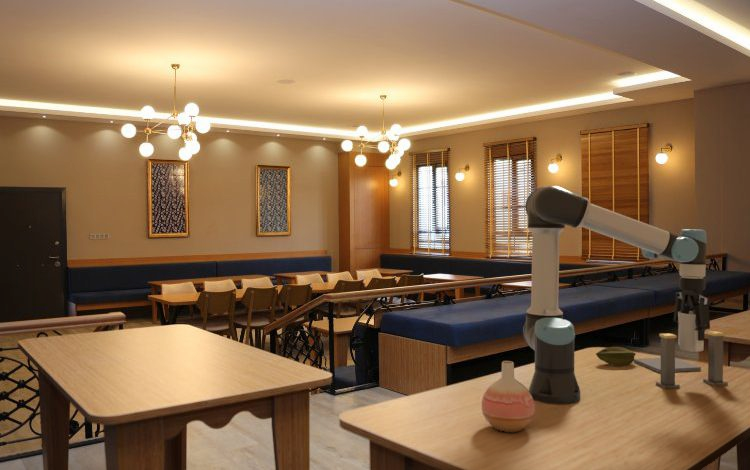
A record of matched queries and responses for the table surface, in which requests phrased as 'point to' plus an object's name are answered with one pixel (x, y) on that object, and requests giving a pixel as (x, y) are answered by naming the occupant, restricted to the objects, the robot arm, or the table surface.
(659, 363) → the pad
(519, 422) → the vase
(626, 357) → the fruit
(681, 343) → the cup
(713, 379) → the post
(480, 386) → the table surface
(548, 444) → the table surface
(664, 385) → the post
